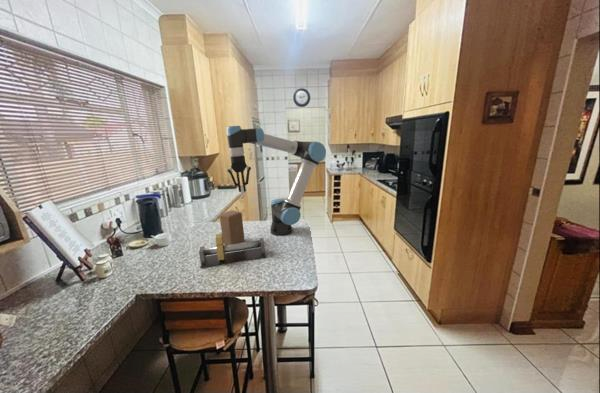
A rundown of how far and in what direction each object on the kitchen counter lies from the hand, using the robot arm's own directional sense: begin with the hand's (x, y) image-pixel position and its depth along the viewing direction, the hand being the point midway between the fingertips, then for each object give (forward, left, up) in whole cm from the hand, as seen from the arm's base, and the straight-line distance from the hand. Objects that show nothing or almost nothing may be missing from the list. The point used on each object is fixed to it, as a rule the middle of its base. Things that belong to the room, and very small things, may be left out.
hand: (243, 197), depth 141 cm
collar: (+15, +10, -30) cm, 35 cm away
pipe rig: (+8, +10, -32) cm, 34 cm away
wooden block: (+8, -10, -32) cm, 34 cm away
